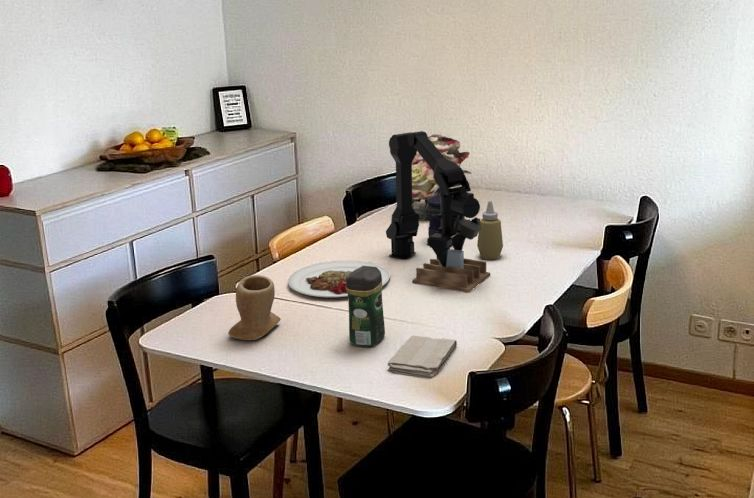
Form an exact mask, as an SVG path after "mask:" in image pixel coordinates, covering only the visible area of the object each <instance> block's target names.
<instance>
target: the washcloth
mask: <svg viewBox="0 0 754 498" xmlns="http://www.w3.org/2000/svg"><path fill="white" fill-rule="evenodd" d="M457 345H458V342H457V340H456V339H451V338H443V337H442V338H435V337H433V338H431V337H429V336H423V335H422V336H421V335H411V336H410V337H409V338H408V339H407V340H406V342H405V343H404V344H403V345H402V346H401V347H400V348H399V350H397V352H396V353H395V354H394V355H393V356H392V357H391V358H390V359H389V360H388V362H387V366H388V368H387V371H388V372H390V371H391V372H394V373H396V374H403V375H410V376H415V377H423V378H432V377H434V376H436V375H437V374H438V373H439V372H440V371H441V369H443V367H444V365H446V363H447V361H448V360H449V358H450V357H451V356H452V355H453V353H454V352H455V350H456V349H457Z"/></svg>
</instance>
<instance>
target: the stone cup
mask: <svg viewBox="0 0 754 498" xmlns="http://www.w3.org/2000/svg"><path fill="white" fill-rule="evenodd" d="M275 291H276V290H275V284H274V282H273V280H272V279H271V278H269V277H268V276H265V275H260V274H255V275H253V274H252V275H248V276H245V277H243V278H241V280H240V281H239V282H238V284H237V285H236V289H235V304H236V308H237V311H238V314H239V317H240V320H239V321H238V322H236V323H235V324H234V325H233V326H231V328H229V330H228V332H227V333H228V336H230V337H231V338H233V339H236V340H242V341H256V340H259V339H260V338H262V337H264V336H265V335H267V334H268V333H269V332H270V331H271V330H272V329H273V328H275V326H276V325H277V324H279V322H280V321H281V318H280V317H279V315H277V314H275V313H274V312H272V307H273V304H274V300H275V293H276V292H275Z"/></svg>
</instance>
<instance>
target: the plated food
mask: <svg viewBox="0 0 754 498" xmlns="http://www.w3.org/2000/svg"><path fill="white" fill-rule="evenodd" d="M361 266H372V267H377V268H378V269H379V270H380V271H381V276H382V287H383V286H385V285H386V284H387V283H388V282H389V280H390V279H391V278H390V277H391V275H390V272H389V270H388V269H387V268H385V267H383V266H382V265H379V264H377V263H373V262H367V261H364V260H363V261H361V260H351V259H350V260H330V261H323V262H318V263H314V264H311V265H307V266H304V267H302V268H300V269H297V270H295V271H294V272H293V273H292V274H291V275H289V277H288V280H287V284H288V286H289V288H291V289H292V290H293V291H295V292H297V293H299V294H303V295H305V296H311V297H318V298H319V297H320V298H348V294H347V290H346V277H347V276H348V275H349V274H350V273H352V272H353V271H354V270H356V269H358V268H360V267H361Z"/></svg>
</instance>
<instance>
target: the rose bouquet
mask: <svg viewBox="0 0 754 498" xmlns="http://www.w3.org/2000/svg"><path fill="white" fill-rule="evenodd" d="M428 138H429V139H430V141H431V142H432V143H433V144H434V145H435V147H436V148H437V149H438V150H439V151H440V152H441V154H442V155H443V156H444V157H445V158H446V159H447V160H450V161H452V162H455V163H456V164H457V165H458V166H460V167H461V164H462V163H463V162H465V160H466V159H468V158H469V157H470V152H469V151H462V152H460V150H459V149H460V148H461V142H460V141H459V140H457V139H454V138H451V137H447V136H446V135H441V134H439V133H437V134H436V133H434V134H431V135H429V136H428ZM462 170H463V172H464V174H467V175H468V174H469V175H470V174H472V171H469V170H466V169H465V170H464V169H462ZM438 188H440V187H439V186H438V184H437V183H436V181H435V180H434V178H433V170H432V169H431V167H430V166H429V165H428V164H427V163H426V161H425V160H424V159H423V158H422V156H421V155H420V154H419V153H418V152H417V154H416V156H415V158H414V159H413V161H412V207H413V209H414V211H415V212H416V213H418V215H419V222H420V221H423V222H429V216H428V199H429V198H431V197H434V196H440V193H437V192H436V190H437V189H438ZM423 200H424V204H423V205H419V206H418V208H414V207H415V206H414V205H413V204H414V203H416V202H418V203H421V202H422V201H423Z"/></svg>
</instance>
